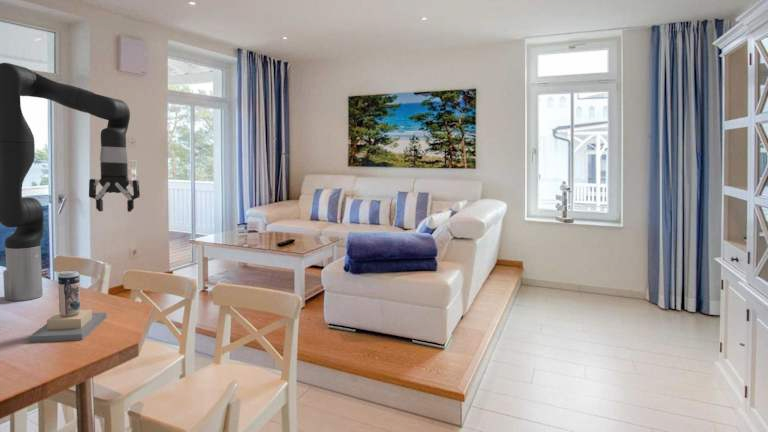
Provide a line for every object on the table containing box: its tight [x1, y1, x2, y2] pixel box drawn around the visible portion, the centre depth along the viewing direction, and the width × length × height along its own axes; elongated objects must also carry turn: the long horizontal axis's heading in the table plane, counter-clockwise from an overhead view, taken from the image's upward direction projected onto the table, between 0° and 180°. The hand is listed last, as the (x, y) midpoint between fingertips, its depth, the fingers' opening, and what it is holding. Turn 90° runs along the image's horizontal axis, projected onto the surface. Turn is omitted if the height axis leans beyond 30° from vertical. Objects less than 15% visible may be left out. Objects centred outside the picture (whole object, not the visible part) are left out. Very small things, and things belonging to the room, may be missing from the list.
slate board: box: [28, 309, 107, 343], centre depth 127 cm, size 12×18×4 cm, turn 14°
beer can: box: [57, 269, 82, 317], centre depth 126 cm, size 5×5×12 cm
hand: (115, 211), depth 150 cm, fingers open, 8 cm apart
